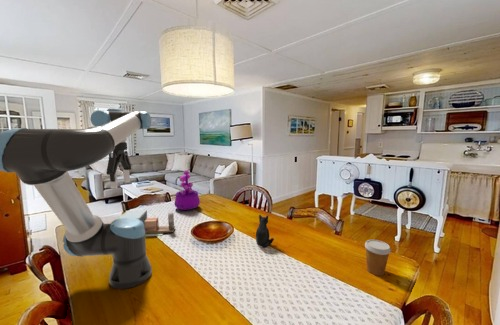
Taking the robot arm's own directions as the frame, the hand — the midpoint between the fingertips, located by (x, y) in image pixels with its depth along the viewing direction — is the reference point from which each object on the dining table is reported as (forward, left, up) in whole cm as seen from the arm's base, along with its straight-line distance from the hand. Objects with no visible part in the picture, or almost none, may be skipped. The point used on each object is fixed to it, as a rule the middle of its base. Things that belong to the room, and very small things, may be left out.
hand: (120, 185), depth 112 cm
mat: (+13, -15, -32) cm, 38 cm away
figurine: (-27, -66, -32) cm, 78 cm away
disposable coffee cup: (-66, -98, -32) cm, 123 cm away
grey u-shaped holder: (+12, -17, -31) cm, 38 cm away
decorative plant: (+48, -39, -32) cm, 70 cm away
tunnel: (+15, -7, -32) cm, 36 cm away
